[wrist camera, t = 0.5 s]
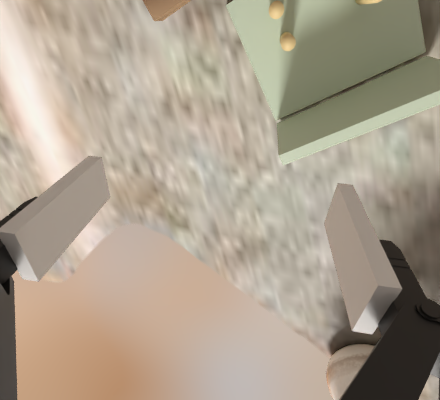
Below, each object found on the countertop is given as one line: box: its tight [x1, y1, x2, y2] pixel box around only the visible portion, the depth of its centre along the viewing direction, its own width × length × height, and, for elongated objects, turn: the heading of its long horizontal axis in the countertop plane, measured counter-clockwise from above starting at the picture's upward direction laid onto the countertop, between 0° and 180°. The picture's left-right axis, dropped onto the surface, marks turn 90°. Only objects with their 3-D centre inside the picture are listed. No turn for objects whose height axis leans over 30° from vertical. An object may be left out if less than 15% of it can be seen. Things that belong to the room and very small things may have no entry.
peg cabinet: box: [226, 0, 440, 165], centre depth 26 cm, size 16×17×11 cm
